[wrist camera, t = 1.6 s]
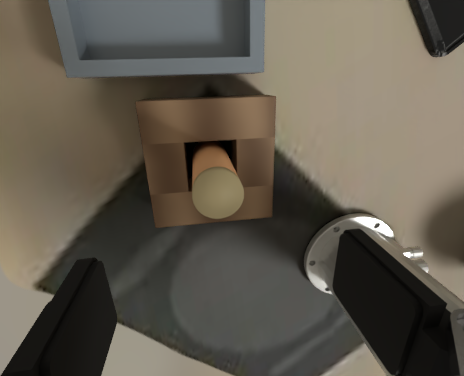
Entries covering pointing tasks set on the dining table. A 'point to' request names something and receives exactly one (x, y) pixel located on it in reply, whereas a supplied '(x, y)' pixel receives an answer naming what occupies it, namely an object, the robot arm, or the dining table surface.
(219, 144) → the peg
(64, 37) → the tray
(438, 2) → the phone
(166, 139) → the pin block
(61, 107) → the dining table surface
